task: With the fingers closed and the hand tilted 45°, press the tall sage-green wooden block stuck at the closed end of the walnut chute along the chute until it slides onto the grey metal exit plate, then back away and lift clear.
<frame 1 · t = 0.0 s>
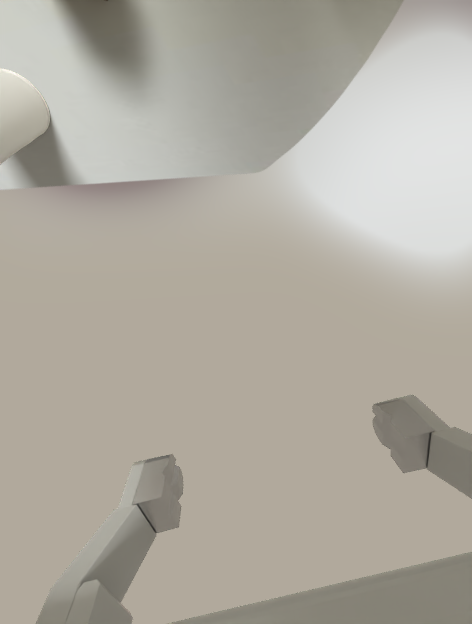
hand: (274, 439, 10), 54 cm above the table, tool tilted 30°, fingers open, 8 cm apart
spray can: (7, 108, 40), on the table
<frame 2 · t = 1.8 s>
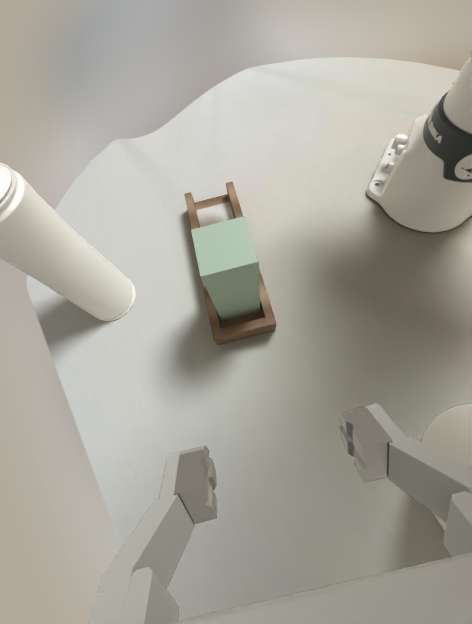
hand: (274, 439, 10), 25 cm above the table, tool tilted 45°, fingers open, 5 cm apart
spray can: (106, 292, 43), on the table
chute: (227, 261, 43), on the table
jammed block: (231, 277, 32), point 8 cm above the table, slide at 0.0 cm
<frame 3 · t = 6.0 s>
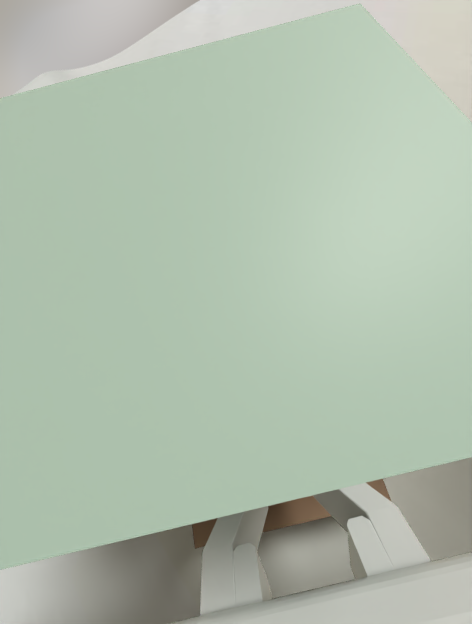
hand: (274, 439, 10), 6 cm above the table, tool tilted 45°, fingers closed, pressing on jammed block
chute: (233, 288, 19), on the table
jammed block: (246, 340, 9), point 8 cm above the table, slide at 1.4 cm, touching gripper
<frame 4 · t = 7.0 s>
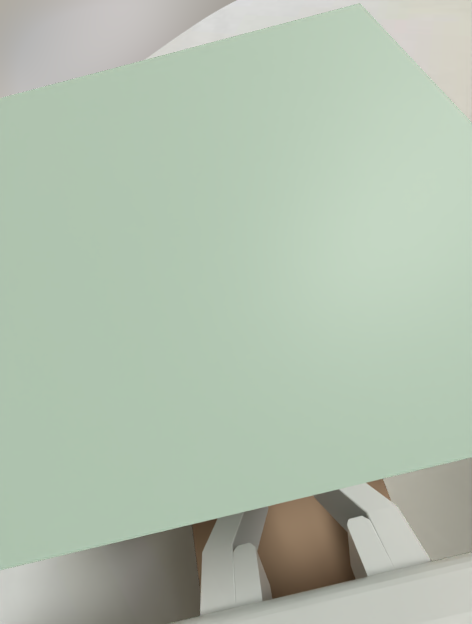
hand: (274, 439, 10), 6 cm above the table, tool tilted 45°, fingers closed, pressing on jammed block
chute: (251, 360, 17), on the table
jammed block: (246, 340, 9), point 8 cm above the table, slide at 7.3 cm, touching gripper
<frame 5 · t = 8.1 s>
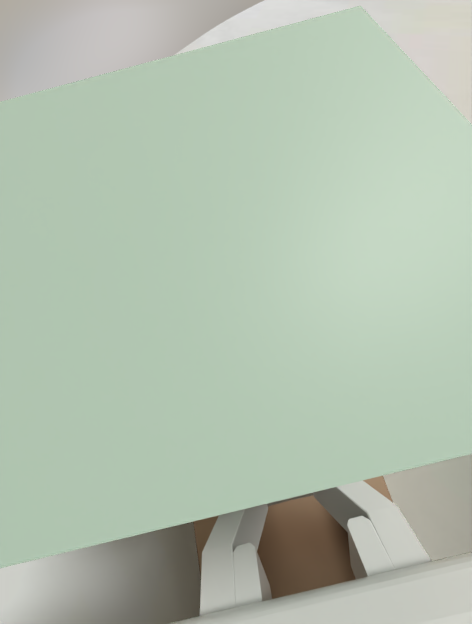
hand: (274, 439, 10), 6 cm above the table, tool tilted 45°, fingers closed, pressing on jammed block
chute: (266, 418, 16), on the table
jammed block: (247, 340, 9), point 8 cm above the table, slide at 11.1 cm, touching gripper
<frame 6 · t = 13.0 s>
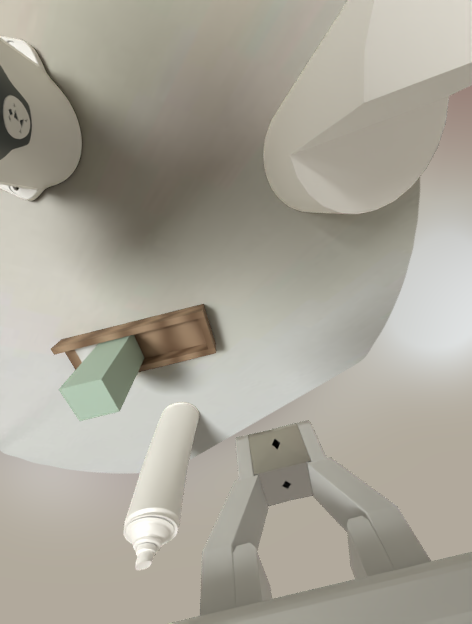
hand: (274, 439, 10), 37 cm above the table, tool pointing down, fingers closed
cylinder: (316, 153, 39), on the table
spray can: (176, 420, 57), on the table
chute: (141, 341, 49), on the table
jammed block: (109, 370, 41), point 8 cm above the table, slide at 11.2 cm
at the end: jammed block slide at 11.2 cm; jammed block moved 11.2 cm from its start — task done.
